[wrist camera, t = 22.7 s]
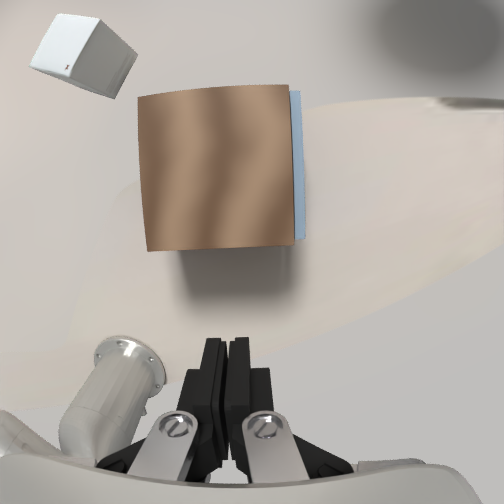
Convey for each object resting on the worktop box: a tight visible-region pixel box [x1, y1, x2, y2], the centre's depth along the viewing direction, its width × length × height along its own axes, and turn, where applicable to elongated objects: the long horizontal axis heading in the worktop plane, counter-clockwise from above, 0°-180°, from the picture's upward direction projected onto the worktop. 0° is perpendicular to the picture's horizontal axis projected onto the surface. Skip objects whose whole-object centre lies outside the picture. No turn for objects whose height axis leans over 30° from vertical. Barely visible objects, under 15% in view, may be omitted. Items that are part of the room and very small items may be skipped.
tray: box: [289, 91, 305, 239], centre depth 32 cm, size 14×15×9 cm
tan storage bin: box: [138, 85, 294, 252], centre depth 32 cm, size 14×15×12 cm
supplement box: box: [29, 14, 138, 99], centre depth 28 cm, size 7×7×13 cm
